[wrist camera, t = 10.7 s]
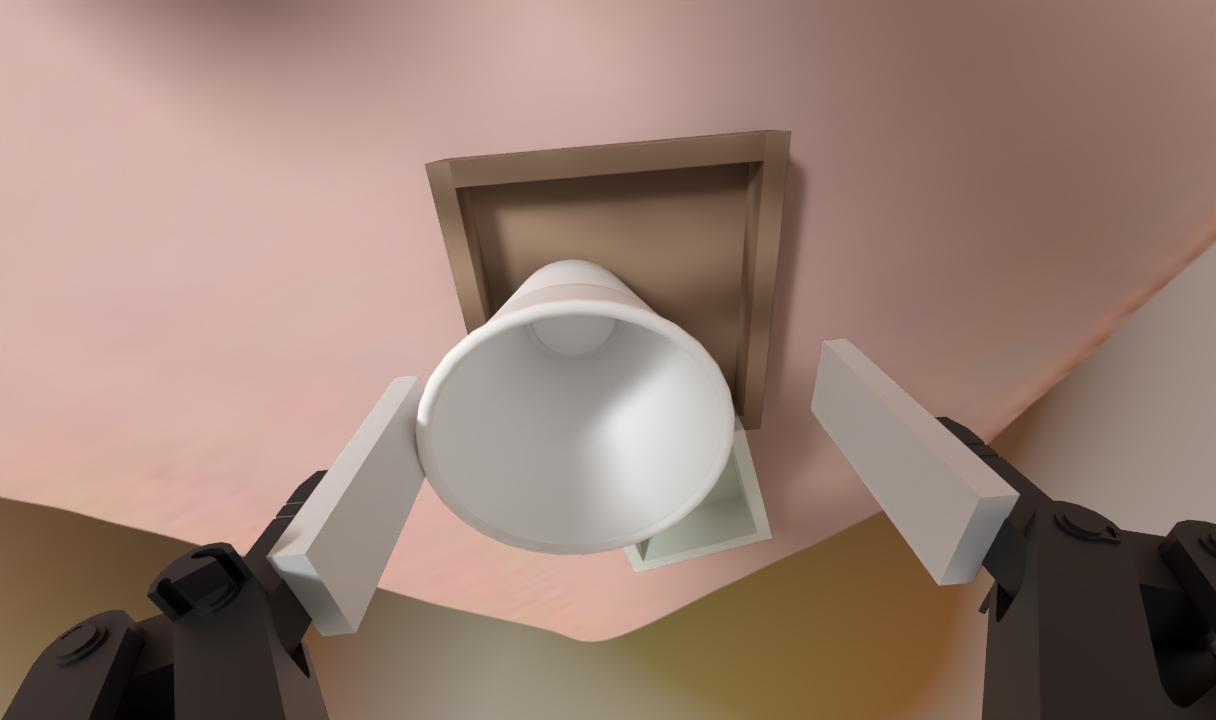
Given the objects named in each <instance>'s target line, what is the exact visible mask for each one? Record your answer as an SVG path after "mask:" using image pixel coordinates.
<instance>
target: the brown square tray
mask: <svg viewBox="0 0 1216 720" xmlns="http://www.w3.org/2000/svg"><path fill="white" fill-rule="evenodd" d="M790 136H791V131H774V130H764V131H753V132H741V133H730V134H719V135H708V136H697V137H685V138H674V139H663V140H652V141H641V142H629V143H618V144H607V145H596V146H585V147H573V148H562V149H551V150H540V151H529V152H518V153H506V154H495V155H484V156H473V157H462V158H450V159H443V160H439V161H435V162H431V163H427V164H425V167H426V171H427V175H428V179H429V183H430V187H431V191H432V195H433V199H434V203H435V207H436V211H437V215H438V218H439V222H440V226H441V230H442V234H443V238H444V242H445V246H446V250H447V254H448V258H449V262H450V266H451V270H452V274H453V278H454V282H455V286H456V290H457V294H458V298H459V302H460V305H461V309H462V313H463V317H464V321H465V325H466V329H467V333H468V335H469V334H470V333H471V332H472V331H474V330H476V329H478V328H479V327H481V326H483V325H485V324H486V323H487V322H488V321H489V320H490V319H491V318H492V317H493V316H494V315H495V314H496V313H497V311H499V310H500V308H501V307H502V306H503V305H504V304H505V303H506V302H507V301H508V300H509V299H510V298H511V297H512V295H513V294H514V293H515V292H516V291H517V290H518V289H519V288H520V286H521V285H522V284H523V283H524V282H525V281H526V280H527V279H528V278H529V277H530V276H531V275H533V274H534V273H535V272H536V271H537V270H539V269H541V268H543V267H544V266H546V265H548V264H551V263H554V262H557V261H563V260H571V259H572V260H584V261H588V262H592V263H595V264H598V265H600V266H602V267H604V268H606V269H607V270H609V271H610V272H611V273H612V274H614V275H615V276H616V277H617V278H618V279H620V280H621V281H622V282H623V283H624V284H625V285H626V286H627V287H628V288H629V289H630V290H631V291H632V292H633V293H635V294H636V295H637V296H638V297H639V298H640V299H641V300H642V301H643V302H644V303H646V305H648V306H649V307H650V308H651V309H652V310H653V311H654V312H656V313H657V314H658V315H659V316H660V317H662V318H664V319H667V320H669V321H671V322H673V323H675V324H676V325H678V326H679V327H680V328H682V329H683V330H684V331H685V332H687V333H688V334H689V335H691V336H692V337H693V338H694V339H696V340H697V341H698V342H700V343H701V345H702V346H703V347H704V348H705V349H706V351H707V352H708V353H709V354H710V356H711V357H712V358H713V359H714V361H715V362H716V363H717V364H718V366H719V368H720V370H721V372H722V374H723V376H724V378H725V381H726V383H727V385H728V387H729V389H730V393H731V398H732V403H733V407H734V409H735V411H736V413H737V415H738V417H739V419H740V421H741V423H742V425H743V427H744V430H751V429H760V426H761V416H762V407H763V397H764V387H765V378H766V368H767V358H768V349H769V339H770V329H771V320H772V310H773V300H774V291H775V281H776V272H777V262H778V252H779V243H780V233H781V223H782V214H783V204H784V194H785V185H786V175H787V165H788V156H789V146H790ZM735 411H734V413H735ZM736 413H735V417H736V416H737V415H736Z"/></svg>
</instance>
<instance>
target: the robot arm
mask: <svg viewBox="0 0 1216 720" xmlns="http://www.w3.org/2000/svg"><path fill="white" fill-rule="evenodd" d="M423 393H424V389H423V386H422V384H421V381H420V378H419V375H418V376H406V377H395V379H394V380H393V381H392V383H391V384H390V386H389V387H388V388H387V390H386V391H385V392H384V394H383V395H382V397H381V398H380V399H379V401H378V402H377V404H376V405H375V406H374V408H373V409H372V411H371V412H370V413H369V415H368V416H367V418H366V419H365V420H364V422H363V423H362V424H361V426H360V427H359V429H358V430H357V431H356V433H355V434H354V436H353V437H352V438H351V440H350V441H349V443H348V444H347V445H346V447H345V448H344V449H343V451H342V452H341V454H340V455H339V456H338V458H337V459H336V461H335V462H334V463H333V465H332V466H331V468H330V469H329V470H323V471H317V472H316V473H314V474H313V475H312V476H311V477H309V478H308V479H307V480H306V481H304V482H303V483H302V484H301V485H299V486H298V488H297V489H296V490H295V492H294V493H293V494H292V496H291V497H290V498H289V500H288V501H287V502H286V503H287V504H286V505H285V506H283V507H282V509H281V510H280V511H279V513H278V514H277V515H276V519H273V520H272V522H271V523H270V524H269V526H268V527H267V528H266V529H265V531H264V532H263V533H262V535H261V536H260V537H259V539H258V540H257V541H256V542H255V544H254V545H253V546H252V548H251V549H250V550H249V552H248V553H247V554H246V555H245V557H244V558H243V559H242V558H241V557H240V556H239V554H238V553H237V552H236V550H235V549H234V548H233V547H232V545H231V544H228V543H223V542H219V543H213V544H207V545H205V546H202V547H199V548H197V549H194V550H192V551H190V552H188V553H187V554H185V555H184V556H182V557H180V558H178V559H177V560H175V561H174V562H173V563H172V564H170V565H169V566H168V567H167V568H166V569H164V570H163V571H162V572H161V573H160V574H159V575H158V577H157V578H156V579H155V580H154V581H153V583H152V584H151V586H150V589H149V591H148V594H147V596H148V597H149V598H150V599H151V600H152V601H153V602H154V603H155V605H156V606H157V607H159V608H160V610H161V611H162V612H163V614H160V615H157V616H154V617H151V618H149V619H145V620H143V621H140V622H135V621H134V620H133V619H132V618H131V617H130V616H129V615H128V614H127V613H126V612H125V611H123V610H111V611H107V612H104V613H100V614H97V615H95V616H93V617H90V618H89V619H86V620H85V621H82V622H80V623H78V624H77V625H76V626H74V627H72V628H71V629H70V630H68V631H66V632H65V633H63V634H62V635H61V636H59V637H58V638H57V639H56V640H55V641H54V642H53V643H51V644H50V645H49V646H48V647H47V648H46V649H45V650H44V651H43V652H42V654H41V655H40V656H39V657H38V659H37V660H36V661H35V662H34V664H33V665H32V667H31V669H30V671H29V672H28V674H27V676H26V677H25V679H24V681H23V683H22V685H21V686H20V688H19V690H18V692H17V694H16V695H15V697H14V699H13V700H12V703H11V704H10V706H9V707H8V709H7V711H6V713H5V715H4V716H3V718H2V720H329V717H328V714H327V711H326V707H325V703H324V700H323V697H322V693H321V690H320V686H319V683H318V680H317V676H316V673H315V669H314V666H313V662H312V659H311V656H310V652H309V649H308V646H307V645H306V643H305V642H304V640H303V639H302V638H303V636H304V634H305V632H306V630H307V628H308V627H309V625H310V623H311V621H312V622H313V624H314V625H315V627H316V628H317V629H318V631H319V632H320V634H321V635H322V636H327V635H340V634H352V633H356V632H357V629H358V627H359V625H360V623H361V620H362V618H363V616H364V614H365V611H366V609H367V607H368V604H369V602H370V600H371V598H372V595H373V593H374V591H375V589H376V587H377V584H378V582H379V580H380V578H381V575H382V573H383V571H384V569H385V566H386V564H387V562H388V560H389V557H390V555H391V553H392V551H393V548H394V546H395V544H396V542H397V539H398V537H399V535H400V533H401V530H402V528H403V526H404V524H405V521H406V519H407V517H408V515H409V512H410V510H411V508H412V506H413V503H414V501H415V499H416V497H417V494H418V492H419V490H420V488H421V485H422V483H423V481H424V479H425V476H426V475H425V472H424V470H423V467H422V465H421V462H420V460H419V456H418V448H417V440H416V433H415V431H416V423H417V415H418V408H419V403H420V401H421V398H422V396H423ZM810 410H811V411H812V413H813V414H814V415H815V417H816V418H817V420H818V421H819V422H820V424H821V425H822V426H823V428H824V429H825V431H826V432H827V433H828V435H829V436H830V437H831V439H832V440H833V442H834V443H835V444H836V446H837V447H838V448H839V450H840V451H841V453H842V454H843V455H844V457H845V458H846V459H847V461H848V462H849V463H850V465H851V466H852V468H853V469H854V470H855V472H856V473H857V474H858V476H859V477H860V479H861V480H862V481H863V483H864V484H865V485H866V487H867V488H868V490H869V491H870V492H871V494H872V495H873V496H874V498H875V499H876V500H877V502H878V503H879V505H880V506H881V507H882V509H883V510H884V511H885V513H886V514H887V515H888V517H889V518H890V520H891V521H892V522H893V524H894V525H895V527H896V528H897V529H898V531H899V532H900V533H901V535H902V536H903V538H904V539H905V540H906V542H907V543H908V544H909V546H910V547H911V548H912V550H913V551H914V553H915V554H916V555H917V557H918V558H919V559H920V561H921V562H922V564H923V565H924V566H925V568H926V569H927V570H928V572H929V573H930V574H931V576H932V577H933V578H934V580H935V581H936V582H937V584H938V585H939V586H941V585H953V584H965V583H973V582H974V580H975V578H976V576H977V574H978V573H979V571H980V569H981V567H982V565H983V566H984V567H985V568H986V569H987V571H988V572H989V573H990V574H991V575H992V576H993V578H994V579H995V582H994V584H993V585H992V587H991V589H990V591H989V592H988V594H987V596H986V598H985V599H984V601H983V603H982V605H981V607H980V609H979V612H981V613H983V614H985V613H986V611H987V609H988V608H989V619H988V633H987V648H986V664H985V679H984V694H983V710H982V720H1216V524H1213V523H1209V522H1205V521H1195V520H1186V521H1181V522H1178V523H1177V524H1176V525H1175V526H1174V527H1173V528H1172V530H1171V531H1170V532H1169V534H1168V535H1167V536H1166V537H1164V536H1158V535H1151V534H1145V533H1138V532H1132V531H1126V530H1121V529H1119V528H1118V527H1117V526H1116V525H1115V524H1114V523H1113V522H1112V521H1110V520H1108V519H1107V518H1105V517H1103V516H1102V515H1100V514H1098V513H1097V512H1095V511H1092V510H1090V509H1087V508H1085V507H1082V506H1080V505H1077V504H1073V503H1068V502H1064V501H1053V500H1052V499H1051V498H1049V497H1048V496H1047V495H1046V494H1044V493H1043V492H1042V491H1041V490H1040V489H1039V488H1037V487H1036V486H1035V485H1034V484H1033V483H1032V482H1031V481H1029V480H1028V479H1027V478H1026V477H1025V476H1023V475H1022V474H1021V473H1020V472H1019V471H1018V470H1016V469H1015V468H1014V467H1013V466H1012V465H1010V464H1009V463H1008V462H1007V461H1006V460H1005V459H1003V458H1002V457H999V456H998V453H996V452H995V451H994V450H993V449H992V448H990V447H989V446H988V445H985V444H984V442H983V441H982V440H981V439H980V438H979V437H978V436H976V435H975V434H974V433H973V432H972V431H970V430H969V429H968V428H966V427H964V426H962V425H961V424H959V423H957V422H955V421H953V420H951V419H949V418H947V417H936V418H934V417H933V416H932V415H931V414H930V413H929V412H928V411H927V410H926V409H924V408H923V407H922V406H921V405H920V404H919V403H918V402H917V401H916V400H914V399H913V398H912V397H911V396H910V395H909V394H908V393H907V392H906V391H904V390H903V389H902V388H901V387H900V386H899V385H898V384H897V383H896V382H894V381H893V380H892V379H891V378H890V377H889V376H888V375H887V374H886V373H884V372H883V371H882V370H881V369H880V368H879V367H878V366H877V365H876V364H874V363H873V362H872V361H871V360H870V359H869V358H868V357H867V356H866V355H864V354H863V353H862V352H861V351H860V350H859V349H858V348H857V347H856V346H854V345H853V344H852V343H851V342H850V341H849V340H848V339H836V340H825V341H823V343H822V349H821V354H820V360H819V365H818V371H817V376H816V382H815V387H814V393H813V398H812V404H811V409H810Z"/></svg>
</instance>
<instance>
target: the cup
mask: <svg viewBox="0 0 1216 720" xmlns="http://www.w3.org/2000/svg"><path fill="white" fill-rule="evenodd" d="M734 423H735V413H734V408H733V403H732V398H731V393H730V389H729V387H728V385H727V383H726V381H725V378H724V376H723V374H722V372H721V370H720V368H719V366H718V364H717V363H716V362H715V361H714V359H713V358H712V357H711V356H710V354H709V353H708V352H707V351H706V349H705V348H704V347H703V346H702V345H701V343H700V342H698V341H697V340H696V339H694V338H693V337H692V336H691V335H689V334H688V333H687V332H685V331H684V330H683V329H682V328H680V327H679V326H678V325H676V324H675V323H673V322H671V321H669V320H667V319H664V318H662V317H660V316H659V315H658V314H657V313H656V312H654V311H653V310H652V309H651V308H650V307H649V306H648V305H646V303H644V302H643V301H642V300H641V299H640V298H639V297H638V296H637V295H636V294H635V293H633V292H632V291H631V290H630V289H629V288H628V287H627V286H626V285H625V284H624V283H623V282H622V281H621V280H620V279H618V278H617V277H616V276H615V275H614V274H612V273H611V272H610V271H609V270H607V269H606V268H604V267H602V266H600V265H598V264H595V263H592V262H588V261H584V260H572V259H571V260H563V261H557V262H554V263H551V264H548V265H546V266H544V267H543V268H541V269H539V270H537V271H536V272H535V273H534V274H533V275H531V276H530V277H529V278H528V279H527V280H526V281H525V282H524V283H523V284H522V285H521V286H520V288H519V289H518V290H517V291H516V292H515V293H514V294H513V295H512V297H511V298H510V299H509V300H508V301H507V302H506V303H505V304H504V305H503V306H502V307H501V308H500V310H499V311H497V313H496V314H495V315H494V316H493V317H492V318H491V319H490V320H489V321H488V322H487V323H486V324H485V325H483V326H481V327H479V328H478V329H476V330H474V331H472V332H471V333H470V334H469V335H468V336H467V337H465V338H464V339H463V340H462V341H461V342H460V343H459V344H457V345H456V346H455V347H454V348H453V349H452V350H450V351H449V352H448V353H447V355H446V356H445V357H444V359H443V360H442V361H441V363H440V364H439V366H438V367H437V368H436V370H435V371H434V372H433V374H432V375H431V377H430V378H429V381H428V383H427V386H426V388H425V391H424V393H423V396H422V398H421V401H420V403H419V408H418V415H417V423H416V431H415V433H416V440H417V448H418V456H419V460H420V462H421V465H422V467H423V470H424V472H425V475H426V477H427V480H428V482H429V484H430V485H431V486H432V488H433V489H434V491H435V492H436V494H437V495H438V497H439V498H440V499H441V501H442V502H443V503H444V504H445V505H446V506H447V507H448V508H449V509H450V510H451V511H452V512H453V513H454V514H455V515H456V516H457V517H458V518H459V519H461V520H462V521H463V522H465V523H466V524H468V525H469V526H471V527H472V528H474V529H476V530H477V531H479V532H480V533H482V534H483V535H486V536H488V537H490V538H493V539H495V540H497V541H499V542H502V543H504V544H506V545H510V546H513V547H517V548H521V549H524V550H528V551H532V552H540V553H548V554H556V555H585V554H592V553H599V552H606V551H612V550H615V549H619V548H623V547H626V546H630V545H633V544H636V543H639V542H641V541H643V540H646V539H648V538H650V537H653V536H655V535H657V534H659V533H661V532H663V531H664V530H666V529H667V528H669V527H671V526H672V525H674V524H676V523H677V522H679V521H680V520H682V519H683V518H684V517H685V516H686V515H687V514H689V513H690V512H691V511H692V510H693V509H694V508H696V507H697V506H698V505H699V504H700V503H701V502H702V501H703V499H704V498H705V497H706V496H707V494H708V493H709V492H710V491H711V490H712V488H713V487H714V486H715V485H716V483H717V481H718V479H719V477H720V475H721V474H722V472H723V470H724V468H725V466H726V464H727V461H728V458H729V454H730V451H731V448H732V444H733V441H734Z"/></svg>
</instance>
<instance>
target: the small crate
mask: <svg viewBox="0 0 1216 720" xmlns="http://www.w3.org/2000/svg"><path fill="white" fill-rule="evenodd" d="M733 408H734V407H733ZM734 411H735V409H734ZM735 413H736V411H735ZM736 415H737V413H736ZM771 538H772V534H771V531H770V527H769V523H768V519H767V515H766V511H765V507H764V503H763V500H762V496H761V492H760V488H759V484H758V480H757V476H756V472H755V469H754V465H753V461H752V457H751V453H750V449H749V445H748V442H747V438H746V434H745V430H744V427H743V425H742V423H741V421H740V419H739V417H738V415H737V416H736V417H735V423H734V441H733V444H732V448H731V451H730V454H729V458H728V461H727V464H726V466H725V468H724V470H723V472H722V474H721V475H720V477H719V479H718V481H717V483H716V485H715V486H714V487H713V488H712V490H711V491H710V492H709V493H708V494H707V496H706V497H705V498H704V499H703V501H702V502H701V503H700V504H699V505H698V506H697V507H696V508H694V509H693V510H692V511H691V512H690V513H689V514H687V515H686V516H685V517H684V518H683V519H682V520H680V521H679V522H677V523H676V524H674V525H672V526H671V527H669V528H667V529H666V530H664V531H663V532H661V533H659V534H657V535H655V536H653V537H650V538H648V539H646V540H643V541H641V542H639V543H636V544H633V545H630V546H626V547H623V550H624V552H625V554H626V555H627V557H628V559H629V561H630V563H631V565H632V567H633V569H634V571H635V573H636V572H640V571H644V570H648V569H652V568H656V567H660V566H664V565H668V564H672V563H676V562H680V561H684V560H688V559H692V558H696V557H700V556H704V555H708V554H712V553H716V552H720V551H724V550H728V549H732V548H736V547H740V546H744V545H748V544H752V543H756V542H760V541H764V540H768V539H771Z"/></svg>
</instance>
